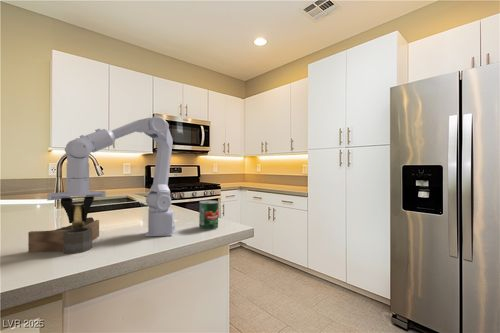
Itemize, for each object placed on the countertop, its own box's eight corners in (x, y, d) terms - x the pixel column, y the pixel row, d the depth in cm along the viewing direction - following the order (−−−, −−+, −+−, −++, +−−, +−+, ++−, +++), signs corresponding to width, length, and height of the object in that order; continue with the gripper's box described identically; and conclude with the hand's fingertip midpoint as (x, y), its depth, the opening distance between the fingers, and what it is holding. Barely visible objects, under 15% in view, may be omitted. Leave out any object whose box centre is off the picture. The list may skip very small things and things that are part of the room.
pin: (85, 225, 76) (85, 203, 76) (80, 228, 73) (80, 205, 73) (75, 226, 75) (75, 203, 75) (69, 228, 73) (69, 205, 72)
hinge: (108, 236, 88) (108, 219, 88) (84, 253, 71) (84, 233, 71) (57, 237, 85) (57, 221, 85) (20, 256, 69) (20, 235, 69)
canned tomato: (205, 224, 106) (205, 199, 106) (221, 226, 103) (221, 200, 103) (195, 229, 99) (195, 202, 98) (212, 231, 96) (212, 203, 96)
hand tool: (55, 242, 81) (55, 228, 81) (45, 241, 82) (46, 228, 82) (99, 227, 100) (100, 216, 100) (91, 227, 101) (91, 216, 101)
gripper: (105, 176, 81) (105, 216, 81) (50, 177, 74) (50, 221, 74) (105, 178, 75) (105, 221, 75) (45, 179, 68) (45, 227, 68)
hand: (78, 221), depth 74 cm, fingers closed on pin, 3 cm apart
